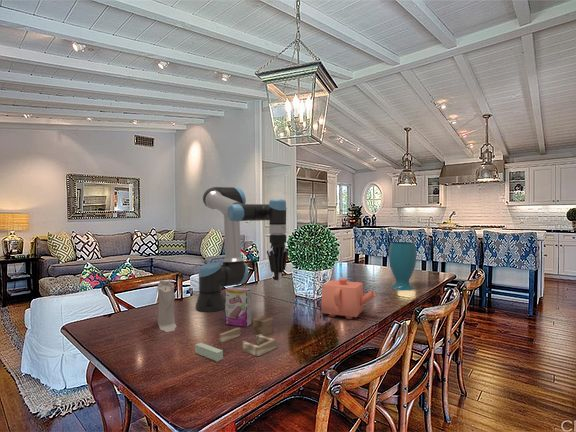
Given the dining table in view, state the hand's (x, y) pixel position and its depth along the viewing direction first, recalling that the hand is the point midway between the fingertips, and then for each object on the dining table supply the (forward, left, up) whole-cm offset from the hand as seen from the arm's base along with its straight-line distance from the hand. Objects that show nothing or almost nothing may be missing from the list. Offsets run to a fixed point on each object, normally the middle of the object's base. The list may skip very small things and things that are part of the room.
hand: (278, 287), depth 154 cm
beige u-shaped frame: (+4, -23, -18) cm, 30 cm away
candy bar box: (-16, -9, -18) cm, 26 cm away
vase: (+18, +109, -18) cm, 112 cm away
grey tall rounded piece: (-39, -30, -18) cm, 52 cm away
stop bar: (0, -39, -18) cm, 43 cm away
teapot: (+18, +34, -18) cm, 42 cm away
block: (0, -10, -18) cm, 20 cm away
